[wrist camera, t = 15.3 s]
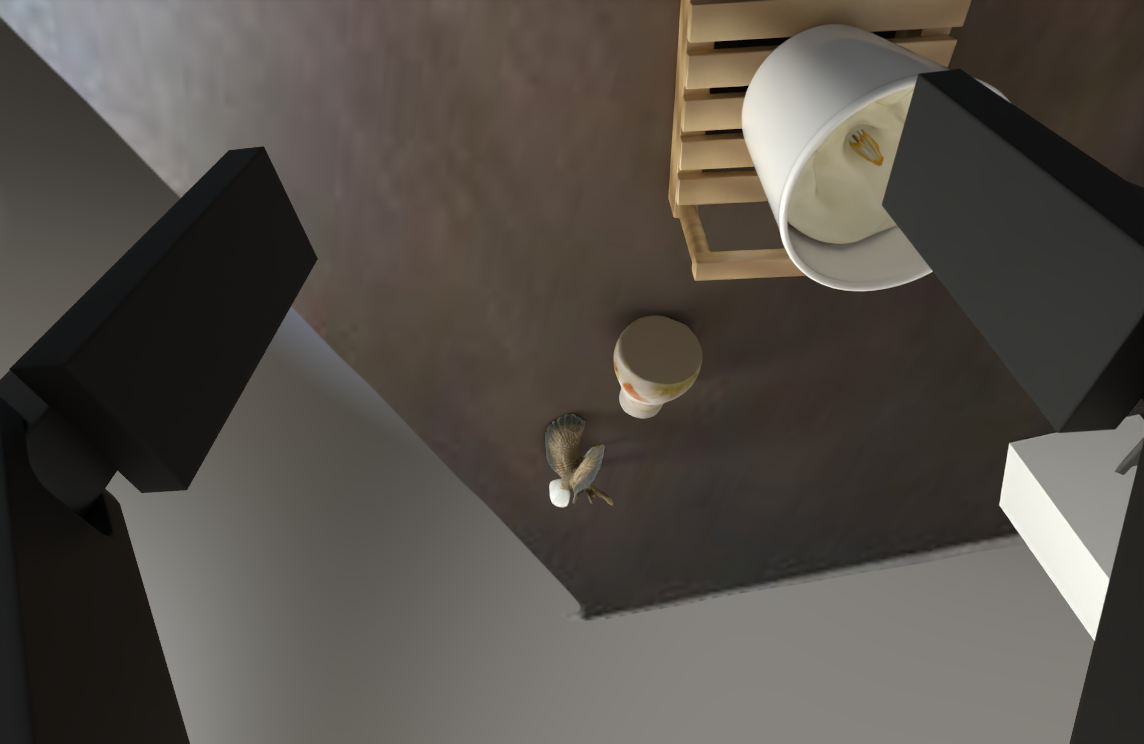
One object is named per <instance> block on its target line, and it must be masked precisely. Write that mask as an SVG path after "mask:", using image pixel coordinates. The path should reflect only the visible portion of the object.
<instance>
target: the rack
mask: <svg viewBox="0 0 1144 744" xmlns="http://www.w3.org/2000/svg"><path fill="white" fill-rule="evenodd" d="M971 1H972V0H681V7H680V23H679V39H678V55H677V71H676V87H675V103H674V119H673V135H672V151H671V167H670V183H669V201H670V205H671V208H672V212H673V216H674V218H680V221H681V224H682V228H683V232H684V235H685V239H686V242H687V246H688V249H689V253H690V256H691V260H692V272H693V275H694V279H695V281H698V280H720V279H742V278H763V277H785V276H807V275H805V274H804V273H803V272H802V271H800V270H799V269H798V268H797V266H796V265H795V264H794V263H793V262H792V260H791V259H790V257H789V255H788V254H787V252H786V250H785V249H765V250H744V251H723V252H711V251H710V248H709V245H708V242H707V239H706V236H705V233H704V230H703V227H702V224H701V221H700V218H699V215H698V205H699V204H718V203H738V202H758V201H768V200H767V197H766V195H765V192H764V190H763V187H762V185H761V182H760V180H759V177H758V175H757V172H756V170H739V171H720V172H702V169H715V168H734V167H753V166H754V165H753V162H752V160H751V157H750V154H749V152H748V149H747V146H746V143H745V140H744V136H743V133H731V134H713V135H705V133H706V130H724V129H742V107H743V102H744V98H745V95H746V92H734V93H717V94H709V93H710V88H717V87H734V86H749V84H750V82H751V80H752V78H753V76H754V75H755V73H756V71H757V70H758V68H759V67H760V66H761V64H762V63H763V62H764V60H765V59H766V58H767V57H768V56H769V55H770V54H771V53H772V52H773V51H774V50H775V49H776V48H777V47H778V46H780V45H773V46H757V47H740V48H723V49H714V44H715V41H728V40H745V39H762V38H779V37H793V36H794V35H796V34H798V33H800V32H802V31H805V30H807V29H810V28H813V27H816V26H821V25H827V24H845V25H851V26H855V27H858V28H861V29H864V30H866V31H869V32H879V31H896V30H897V31H896V35H895V38H891V39H887V40H889V41H891V42H894V43H896V44H898V45H900V46H902V47H904V48H907V49H909V50H911V51H913V52H915V53H917V54H920V55H922V56H924V57H926V58H928V59H930V60H933V61H935V62H937V63H939V64H941V65H943V66H946V67H948V65H949V63H950V60H951V57H952V54H953V51H954V48H955V46H956V43H957V39H955V38H953V37H952V36H950V35H949V33H950V31H951V28H952V27H962V26H963V24H964V21H965V18H966V15H967V12H968V9H969V7H970V4H971Z"/></svg>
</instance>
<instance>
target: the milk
mask: <svg viewBox="0 0 1144 744" xmlns="http://www.w3.org/2000/svg"><path fill="white" fill-rule="evenodd" d="M1143 437H1144V419H1143V418H1142V417H1141V416H1140V415H1139V414H1138V415H1134V416H1129V417H1126V418H1125V419H1124V420H1123V421H1122V422H1121V424H1120V425H1119V426H1118V427H1117V428H1116V429H1115V430H1099V431H1084V432H1069V433H1058V432H1057V433H1052V434H1048V435H1043V436H1038V437H1034V438H1029V439H1025V440H1020V441H1016V442H1011V443H1009V448H1008V454H1007V460H1006V467H1005V473H1004V479H1003V485H1002V491H1001V498H1000V504H999V505H1000V507H1001V508H1002V510H1003V511H1004V512H1005V514H1006V515H1007V517H1008V518H1009V520H1010V521H1011V522H1012V524H1013V525H1014V527H1015V528H1016V530H1017V531H1018V532H1019V534H1020V535H1021V537H1022V538H1023V540H1024V541H1025V542H1026V544H1027V545H1028V547H1029V548H1030V550H1031V551H1032V552H1033V554H1034V555H1035V557H1036V558H1037V560H1038V561H1039V562H1040V564H1041V565H1042V567H1043V568H1044V570H1045V571H1046V572H1047V574H1048V575H1049V577H1050V578H1051V580H1052V581H1053V582H1054V584H1055V585H1056V587H1057V588H1058V589H1059V591H1060V592H1061V594H1062V595H1063V597H1064V598H1065V599H1066V601H1067V602H1068V604H1069V605H1070V607H1071V608H1072V609H1073V611H1074V612H1075V614H1076V615H1077V617H1078V618H1079V620H1080V621H1081V622H1082V624H1083V625H1084V627H1085V628H1086V630H1087V631H1088V632H1089V634H1090V635H1091V637H1092V638H1093V640H1094V641H1095V637H1096V633H1097V629H1098V625H1099V621H1100V617H1101V613H1102V609H1103V605H1104V601H1105V597H1106V592H1107V588H1108V584H1109V580H1110V576H1111V572H1112V568H1113V564H1114V560H1115V556H1116V551H1117V547H1118V543H1119V539H1120V535H1121V531H1122V527H1123V523H1124V519H1125V515H1126V511H1127V506H1128V502H1129V498H1130V494H1131V490H1132V486H1133V482H1134V478H1135V474H1136V470H1137V466H1133V467H1131V468H1130V469H1129V470H1128V472H1127V473H1126V474H1125V475H1122V474H1119V473H1117V472H1114V471H1115V470H1116V469H1117V467H1118V466H1119V465H1120V463H1121V462H1122V461H1123V460H1124V459H1125V458H1126V456H1127V455H1128V454H1129V453H1130V452H1131V451H1132V450H1133V449H1134V447H1135V446H1136V445H1137V444H1138V443H1139V442H1140V441H1141V439H1142V438H1143Z"/></svg>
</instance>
